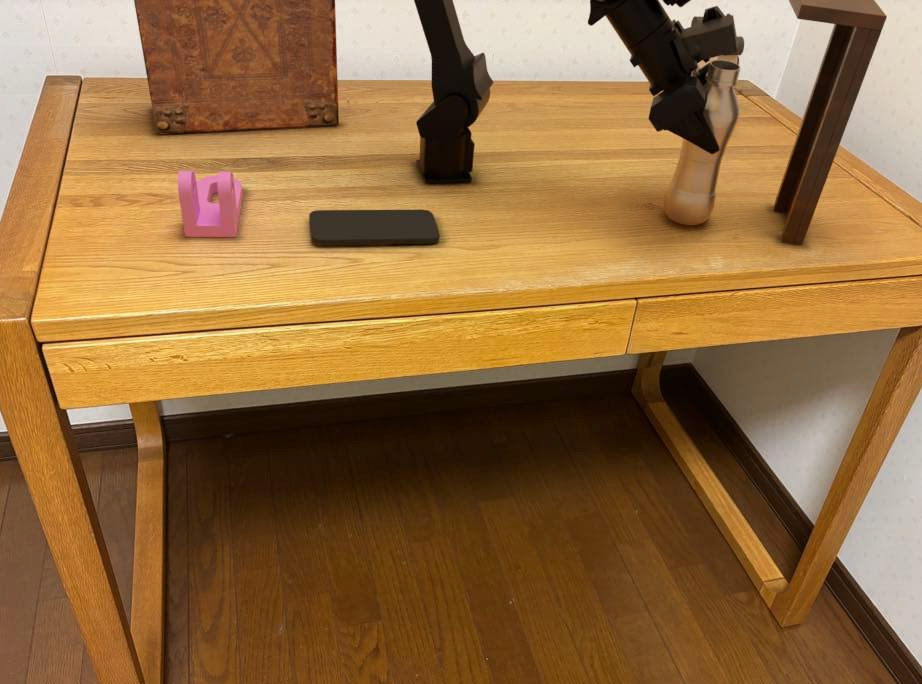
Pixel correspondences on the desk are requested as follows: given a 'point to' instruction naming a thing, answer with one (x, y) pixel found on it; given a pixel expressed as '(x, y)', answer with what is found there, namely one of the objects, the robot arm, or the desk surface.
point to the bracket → (209, 204)
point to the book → (240, 64)
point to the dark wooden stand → (827, 104)
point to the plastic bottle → (696, 167)
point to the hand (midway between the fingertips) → (717, 140)
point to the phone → (373, 227)
